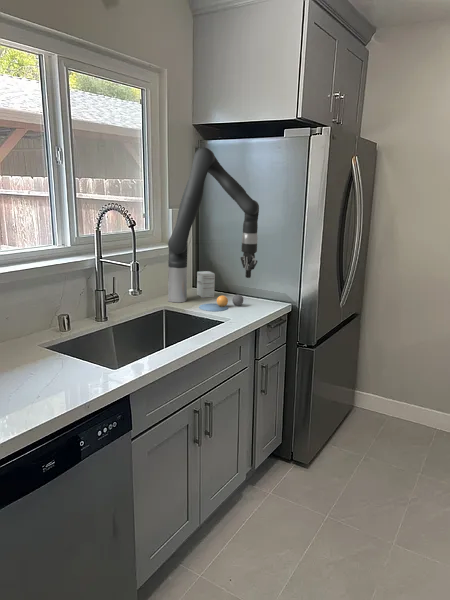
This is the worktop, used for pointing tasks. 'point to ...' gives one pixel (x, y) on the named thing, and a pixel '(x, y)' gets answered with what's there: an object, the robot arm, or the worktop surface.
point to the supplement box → (205, 284)
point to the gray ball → (237, 300)
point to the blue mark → (212, 307)
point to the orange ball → (222, 301)
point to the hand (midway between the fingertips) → (248, 277)
